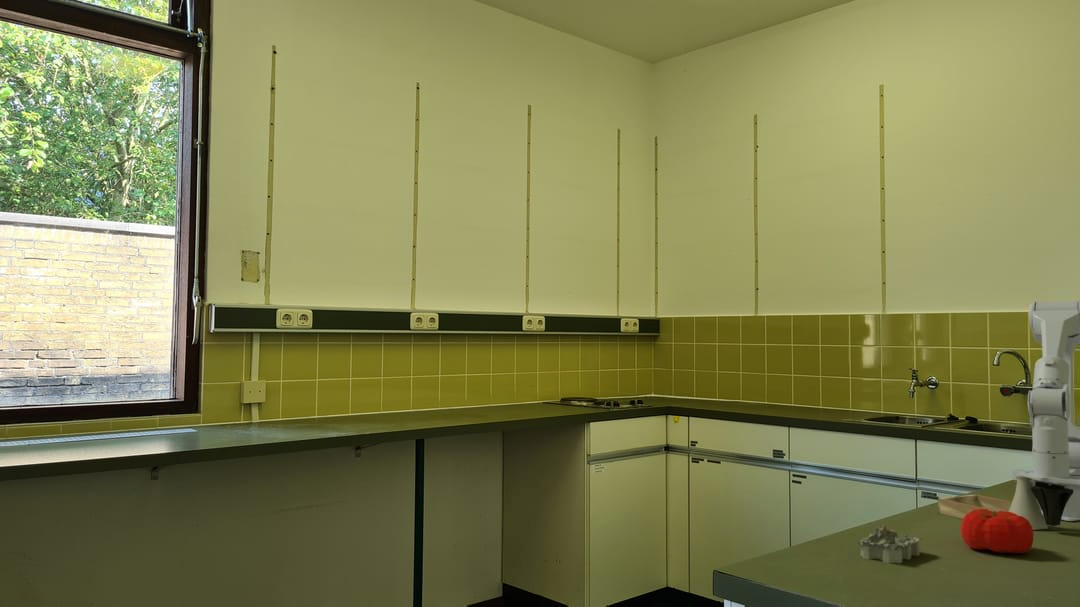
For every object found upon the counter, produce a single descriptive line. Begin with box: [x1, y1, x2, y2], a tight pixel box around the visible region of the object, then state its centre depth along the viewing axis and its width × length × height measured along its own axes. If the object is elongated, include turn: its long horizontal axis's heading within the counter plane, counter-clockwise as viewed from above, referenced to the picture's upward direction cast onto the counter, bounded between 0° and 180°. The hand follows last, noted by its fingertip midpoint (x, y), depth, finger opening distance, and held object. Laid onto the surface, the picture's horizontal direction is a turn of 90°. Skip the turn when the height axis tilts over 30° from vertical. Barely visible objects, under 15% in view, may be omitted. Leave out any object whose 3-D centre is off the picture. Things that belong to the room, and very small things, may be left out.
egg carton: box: [856, 524, 922, 564], centre depth 135 cm, size 11×8×4 cm
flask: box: [1009, 474, 1049, 531], centre depth 156 cm, size 7×7×10 cm
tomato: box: [960, 509, 1035, 555], centre depth 138 cm, size 10×11×6 cm
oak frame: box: [937, 494, 1012, 519], centre depth 164 cm, size 11×11×3 cm
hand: (1053, 524), depth 150 cm, fingers closed
